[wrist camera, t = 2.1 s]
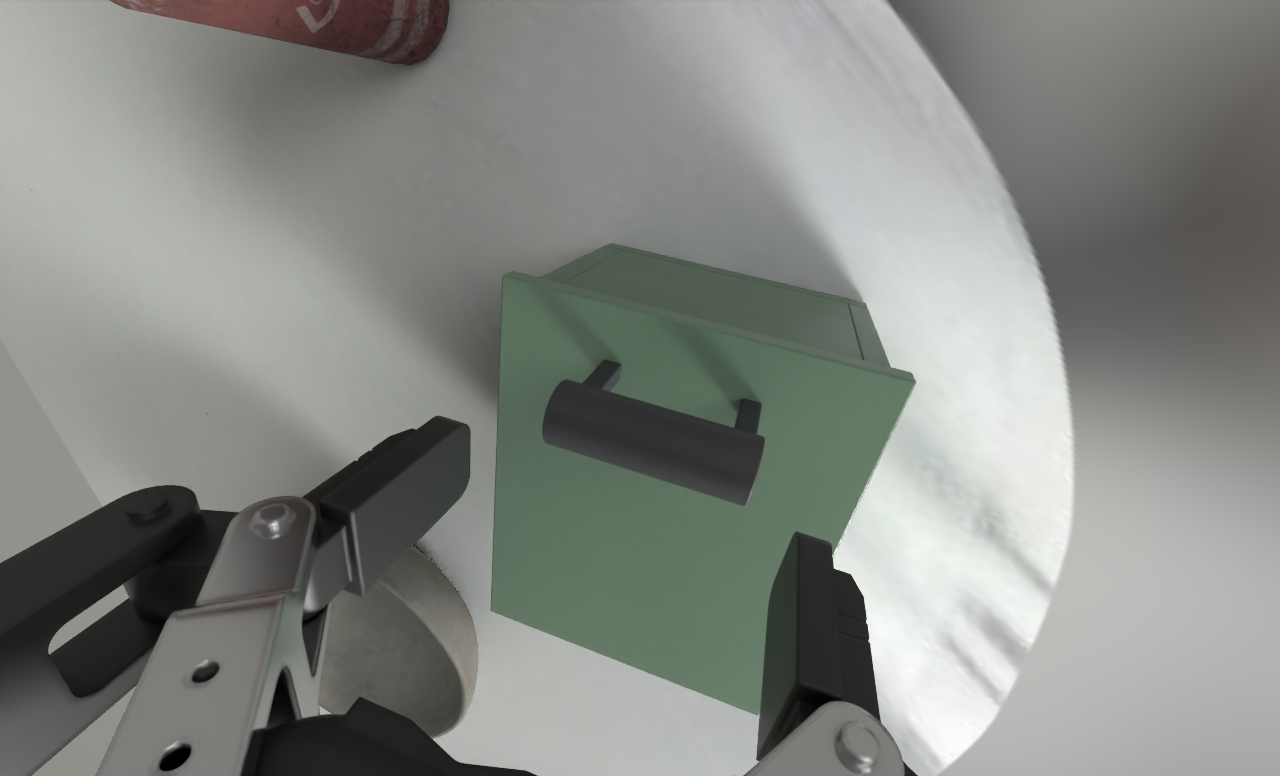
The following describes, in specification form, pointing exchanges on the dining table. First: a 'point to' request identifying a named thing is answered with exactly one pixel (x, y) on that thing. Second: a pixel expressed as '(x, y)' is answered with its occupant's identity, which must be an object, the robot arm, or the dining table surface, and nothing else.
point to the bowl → (403, 648)
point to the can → (322, 23)
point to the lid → (668, 476)
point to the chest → (728, 299)
